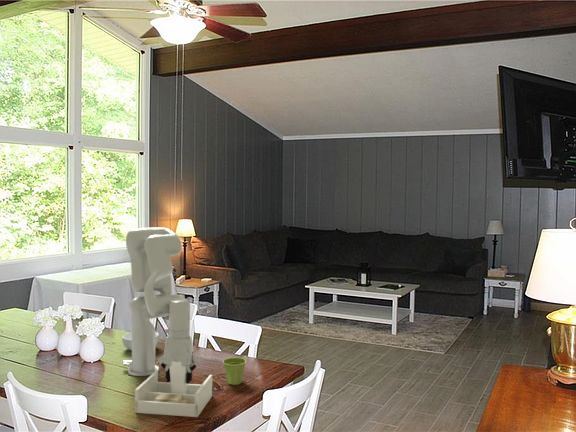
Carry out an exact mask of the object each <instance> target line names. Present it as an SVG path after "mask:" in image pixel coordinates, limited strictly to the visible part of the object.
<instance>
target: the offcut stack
mask: <svg viewBox="0 0 576 432" xmlns="http://www.w3.org/2000/svg"><path fill="white" fill-rule="evenodd" d="M155 401H157V402H172V403H187V404H188V400H185V399H182V395H177V394H162V393H160V394H159V395H158V396H157V397H156V398H155Z"/></svg>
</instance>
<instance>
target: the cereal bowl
mask: <svg viewBox="0 0 576 432" xmlns="http://www.w3.org/2000/svg"><path fill="white" fill-rule="evenodd" d="M159 340H160V333H158V331H155V346H156V345H158V342H159ZM121 341H122V345H123V346H124V347H125V348H126V349H127V350H130V351H132V331H130V332H127V333H124V334H123V335H122V337H121Z"/></svg>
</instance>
